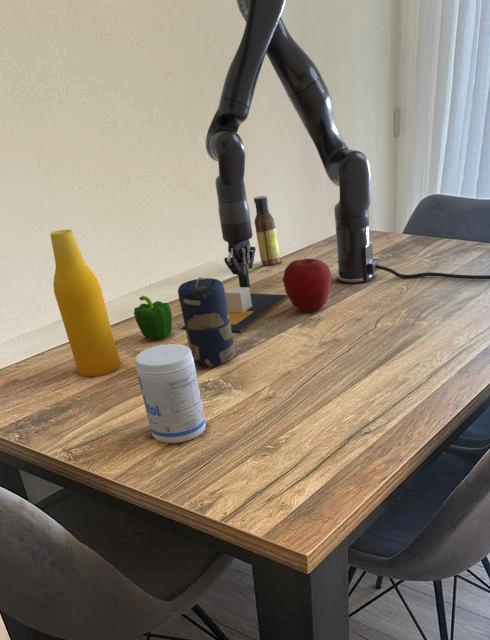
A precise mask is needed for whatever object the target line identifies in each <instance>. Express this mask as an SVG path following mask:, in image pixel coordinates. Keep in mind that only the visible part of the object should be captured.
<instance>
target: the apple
mask: <svg viewBox="0 0 490 640" xmlns="http://www.w3.org/2000/svg"><path fill="white" fill-rule="evenodd" d="M282 283H283V286H284V289H285V290H284V291H285V293H286V294H285V295H287V297H288V300H290V303H291V304H292V306H294V307H295V308H297V309H298V310H300V311H301V312H304V313H314V312H318V311H320V310H321V309H322V308H323V307H324V306H325V305H326V303H327V301H328V298H329V294H330V291H331V284H332V271H331V269H330V267H329V265H328V264H327V263H325V262H323V261H322V260H320V259H316V258H306V256H304V258H303V259H297V260H293V261H291V262H290V263H289V264H288V265H287V266H286V267H285V269H284V273H283V277H282Z"/></svg>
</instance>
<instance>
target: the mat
mask: <svg viewBox="0 0 490 640" xmlns="http://www.w3.org/2000/svg"><path fill="white" fill-rule="evenodd" d="M250 296H251V303H252V307H251V308H249V309H248V310H246V311H245V312H243V313H242V312H228V313H229V319H230V324H231V331H232V333H235V334H239V333H241V332H242V331H241V330H243V329H244V328H246V327H247V326H249V324H251V323H253V322H254V321H255V320H256V319H258V318H259V317H260V316H261V315H263V314H264V313H266V312H267V311H269V310H270V309H271V308H273V307H274V306H275V305H277V304H278V303H279V302H281V301H282V300H283V299H285V298H286V297H288V295H287V294H272V293H271V294H270V293H250ZM182 330H186V329H185V325H184V326H182Z"/></svg>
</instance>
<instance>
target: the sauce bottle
mask: <svg viewBox="0 0 490 640" xmlns="http://www.w3.org/2000/svg"><path fill="white" fill-rule="evenodd" d="M268 201H269V200H268V196H266V195H261V196H256V197H253V202H254V204H255V205H254V206H255V212H256V214H255V218H254V227H255V234H256V239H257V246H258V251H259V257H260V262H261V264H262V265H263V266H275V265H277V264H279V263H281V256H280V255H281V254H280V247H279V241H278V236H277V235H278V234H277V229H276V225H275V224H276V223H275V219H274V217H273V216H272V214H271V213H270V211H269V205H268Z"/></svg>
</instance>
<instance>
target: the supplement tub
mask: <svg viewBox="0 0 490 640" xmlns="http://www.w3.org/2000/svg"><path fill="white" fill-rule="evenodd" d="M134 361H135V370H136V373H137V378H138V382H139V387H140V392H141V395H142V400H143V403H144V409H145V412H146V416H147V420H148V424H149V428H150V433H151V435H152V436H153V438H154V439H155V440H157V441H159V442H162V443H167V444H179V443H185V442H188V441H191V440H193V439H195V438H197V437H198V436H200V435H202V434H203V432H204V431H205V429H206V425H207V424H206V418H205V413H204V407H203V401H202V396H201V391H200V386H199V380H198V374H197V369H196V364H195V363H194V359H193V356H192V353H191V350H190V348H189V346H186V345H183V344H175V343H173V344H172V343H171V344H161V345H155V346H152V347H149V348H146V349H144V350H142V351H140V352H139V353H137V355H136V356H135V359H134Z"/></svg>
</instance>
